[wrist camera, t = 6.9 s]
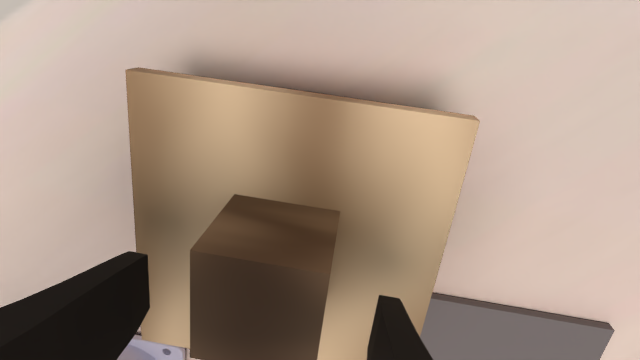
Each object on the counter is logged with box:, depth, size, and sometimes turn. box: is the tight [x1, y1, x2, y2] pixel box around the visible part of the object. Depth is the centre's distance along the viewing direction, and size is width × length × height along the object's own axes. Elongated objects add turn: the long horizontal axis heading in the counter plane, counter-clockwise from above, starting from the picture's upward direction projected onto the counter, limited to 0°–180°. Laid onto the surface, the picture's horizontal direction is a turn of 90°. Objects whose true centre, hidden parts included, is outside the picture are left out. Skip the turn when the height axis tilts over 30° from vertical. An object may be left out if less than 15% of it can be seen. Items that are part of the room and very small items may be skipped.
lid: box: [126, 68, 480, 360], centre depth 14 cm, size 12×12×5 cm
